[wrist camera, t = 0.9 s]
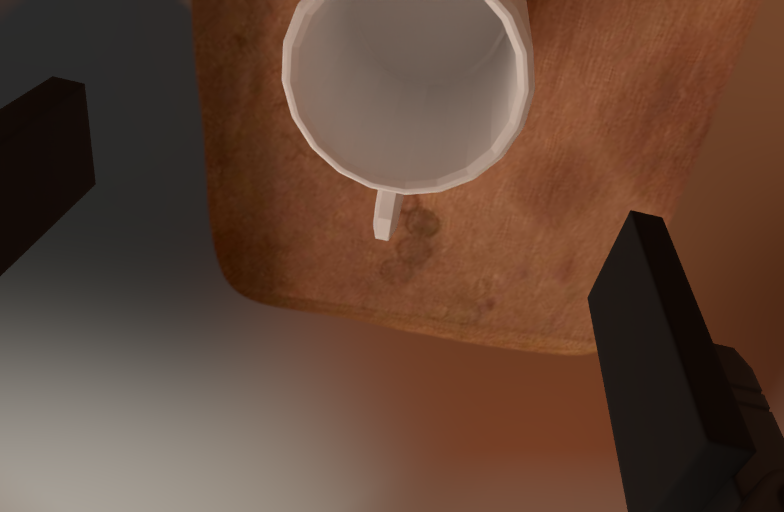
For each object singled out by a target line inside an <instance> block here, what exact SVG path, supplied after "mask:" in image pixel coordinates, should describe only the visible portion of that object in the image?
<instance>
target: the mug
mask: <svg viewBox="0 0 784 512" xmlns="http://www.w3.org/2000/svg"><path fill="white" fill-rule="evenodd" d="M282 83H283V87H284V90H285V94H286V97H287V101H288V105H289V108H290V112H291V115H292V118H293V119H294V121H295V122H296V124H297V126H298V127H299V129H300V130H301V132H302V134H303V135H304V137H305V138H306V140H307V141H308V143H309V145H310V146H311V148H312V149H313V150H314V151H316V152H317V153H318V154H319V155H320V156H321V157H322V158H323V159H325V160H326V161H327V162H328V163H329V164H330V165H331V166H332V167H333V168H335V169H336V170H337V171H338V172H339V173H341V174H343V175H345V176H347V177H349V178H351V179H353V180H356V181H358V182H360V183H362V184H364V185H366V186H368V187H370V188H373V189H378V193H377V199H376V205H375V213H374V222H373V228H374V233H375V238H376V239H381V240H387V241H388V240H389V239H390V237H391V236H392V234H393V233H394V232H395V230H396V228H397V225H398V220H399V215H400V210H401V205H402V201H403V196H404V195H409V194H422V193H434V192H442V191H445V190H447V189H450V188H453V187H455V186H458V185H461V184H463V183H466V182H468V181H471V180H474V179H475V178H477V177H478V176H479V175H480V174H482V173H483V172H484V171H486V170H487V169H488V168H490V167H491V166H492V165H493V164H495V163H496V162H497V161H499V160H500V159H501V158H503V156H504V155H505V153H506V152H507V151H508V149H509V148H510V146H511V145H512V143H513V142H514V140H515V139H516V138H517V136H518V135H519V133H520V132H521V130H522V129H523V127H524V125H525V122H526V118H527V115H528V112H529V108H530V105H531V101H532V98H533V95H534V91H535V78H534V55H533V44H532V37H531V29H530V22H529V15H528V8H527V0H301V1H300V2H299V3H298V5H297V7H296V10H295V12H294V15H293V18H292V20H291V23H290V25H289V28H288V31H287V33H286V36H285V38H284V41H283V61H282Z"/></svg>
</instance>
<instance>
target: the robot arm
mask: <svg viewBox="0 0 784 512" xmlns="http://www.w3.org/2000/svg"><path fill="white" fill-rule="evenodd" d="M95 184H96V183H95V174H94V166H93V157H92V147H91V138H90V129H89V120H88V111H87V101H86V92H85V84H82V83H79V82H75V81H70V80H66V79H62V78H57V77H51V78H49V79H48V80H46V81H45V82H43V83H41V84H40V85H38V86H36V87H35V88H33V89H32V90H30V91H28V92H27V93H25V94H24V95H22V96H20V97H19V98H17V99H16V100H14V101H12V102H11V103H9V104H8V105H6V106H4V107H3V108H1V109H0V276H1V275H2V274H3V273H4V272H5V271H6V270H7V269H8V268H9V267H10V266H11V265H12V264H13V263H14V262H16V261H17V260H18V259H19V257H21V256H22V255H23V254H24V253H25V252H26V251H27V250H28V249H29V248H30V247H31V246H32V245H33V244H34V243H35V242H36V241H37V240H38V239H39V238H40V237H41V236H42V235H43V234H45V233H46V232H47V231H48V229H50V228H51V227H52V226H53V225H54V224H55V223H56V222H57V221H58V220H59V219H60V218H61V217H62V216H63V215H64V214H65V213H66V212H67V211H68V210H69V209H70V208H71V207H72V206H73V205H75V204H76V202H77V201H79V200H80V199H81V198H82V197H83V196H84V195H85V194H86V193H87V192H88V191H89V190H90V189H91V188H92V187H93V186H94V185H95ZM588 303H589V308H590V313H591V319H592V324H593V329H594V335H595V340H596V345H597V350H598V356H599V361H600V366H601V372H602V377H603V382H604V387H605V392H606V398H607V403H608V409H609V414H610V419H611V424H612V430H613V435H614V440H615V445H616V451H617V456H618V461H619V467H620V472H621V477H622V483H623V488H624V493H625V498H626V504H627V509H628V512H784V438H783V436H782V434H781V431H780V429H779V427H778V425H777V422H776V420H775V418H774V416H773V414H772V412H769V409H770V407H769V405H768V403H767V401H766V399H765V396H764V395H763V394H761V391H762V389H761V387H760V385H759V383H758V381H757V379H756V376H755V374H754V372H753V370H752V368H751V367H750V366H749V365H748V364H747V363H746V361H745V360H744V359H743V358H742V357H741V356H740V355H739V354H738V352H737V351H736V350H735V349H734V348H731V347H727V346H723V345H718V344H714V343H713V342H712V339H711V337H710V334H709V332H708V329H707V327H706V325H705V322H704V319H703V317H702V314H701V312H700V310H699V307H698V305H697V302H696V300H695V297H694V295H693V292H692V290H691V287H690V285H689V282H688V280H687V278H686V275H685V272H684V270H683V267H682V265H681V263H680V260H679V258H678V255H677V253H676V250H675V248H674V246H673V243H672V240H671V238H670V236H669V233H668V230H667V228H666V225H665V223H664V221H663V218H662V217H658V216H653V215H649V214H645V213H640V212H636V211H632V210H630V212H629V215H628V217H627V219H626V221H625V223H624V225H623V227H622V229H621V231H620V233H619V235H618V237H617V239H616V241H615V243H614V245H613V247H612V249H611V251H610V253H609V255H608V257H607V259H606V261H605V263H604V265H603V267H602V269H601V271H600V273H599V275H598V277H597V279H596V281H595V283H594V285H593V287H592V290H591V292H590V294H589V296H588Z"/></svg>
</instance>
